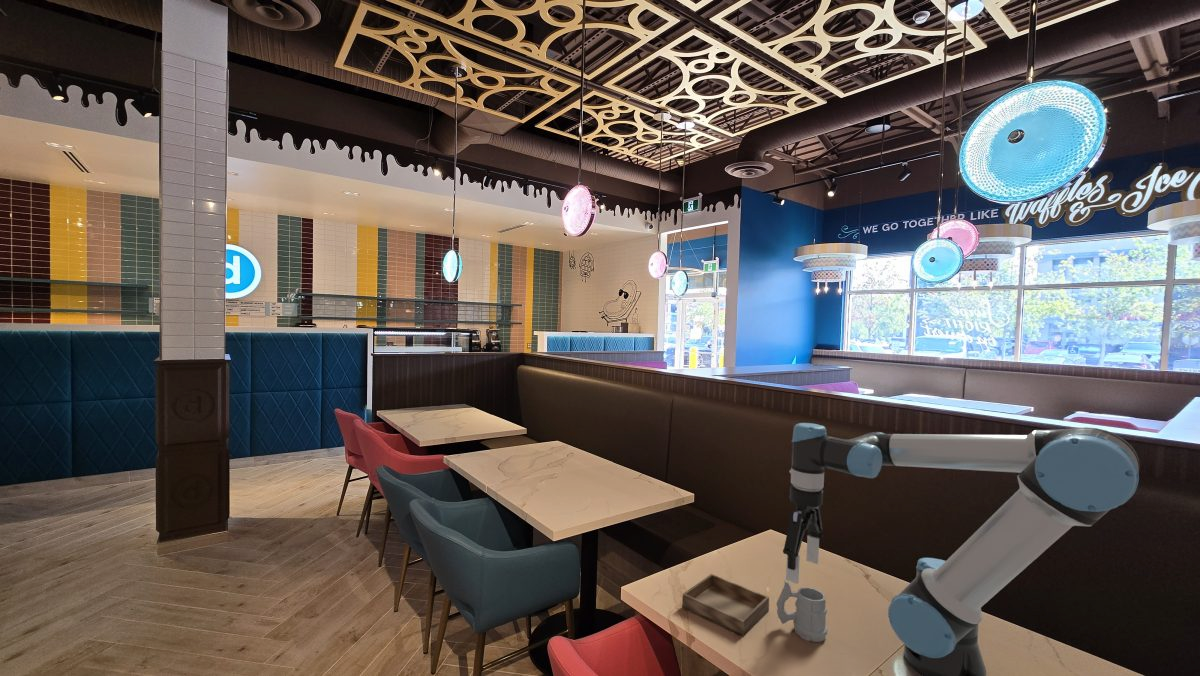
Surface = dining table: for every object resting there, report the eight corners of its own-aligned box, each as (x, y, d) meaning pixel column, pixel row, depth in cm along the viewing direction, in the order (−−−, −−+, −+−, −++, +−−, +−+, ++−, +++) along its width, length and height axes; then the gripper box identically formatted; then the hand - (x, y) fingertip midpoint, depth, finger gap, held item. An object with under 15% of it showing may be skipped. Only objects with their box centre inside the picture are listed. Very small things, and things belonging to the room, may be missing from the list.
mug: (829, 646, 116) (831, 596, 116) (776, 635, 120) (778, 587, 119) (824, 627, 123) (826, 580, 123) (775, 617, 127) (776, 572, 127)
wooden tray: (768, 611, 130) (769, 597, 130) (742, 637, 119) (743, 621, 118) (710, 586, 141) (711, 573, 141) (682, 608, 130) (682, 594, 130)
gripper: (808, 472, 132) (805, 549, 133) (771, 494, 114) (767, 584, 115) (838, 479, 127) (834, 559, 128) (803, 503, 109) (799, 596, 110)
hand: (802, 571), depth 121 cm, fingers open, 13 cm apart
